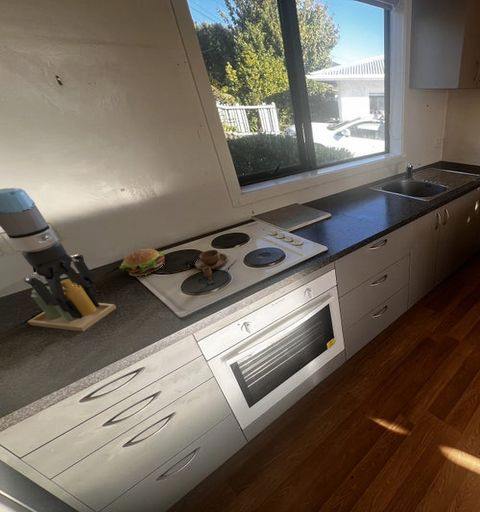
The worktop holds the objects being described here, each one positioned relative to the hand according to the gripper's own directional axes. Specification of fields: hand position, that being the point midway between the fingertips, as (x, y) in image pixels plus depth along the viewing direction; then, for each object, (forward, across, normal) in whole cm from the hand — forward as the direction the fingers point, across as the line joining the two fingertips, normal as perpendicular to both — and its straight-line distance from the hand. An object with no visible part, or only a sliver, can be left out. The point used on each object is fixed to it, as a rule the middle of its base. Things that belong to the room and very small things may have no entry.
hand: (86, 311), depth 90 cm
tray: (+3, 0, +6) cm, 7 cm away
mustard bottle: (0, 0, 0) cm, 0 cm away
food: (+3, +28, +7) cm, 29 cm away
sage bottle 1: (+3, 0, +12) cm, 12 cm away
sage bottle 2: (+3, 0, +6) cm, 7 cm away
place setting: (+3, +31, -18) cm, 36 cm away
